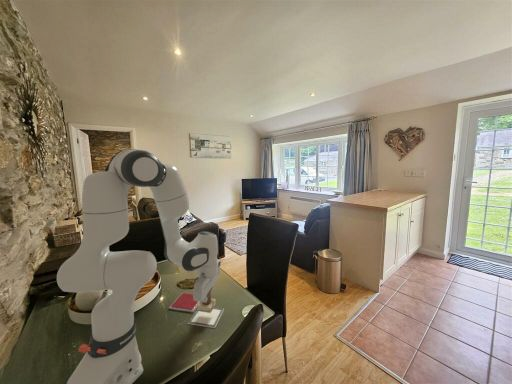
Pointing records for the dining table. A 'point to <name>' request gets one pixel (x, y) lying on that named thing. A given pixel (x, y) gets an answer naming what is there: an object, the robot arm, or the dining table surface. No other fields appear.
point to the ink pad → (185, 303)
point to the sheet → (206, 318)
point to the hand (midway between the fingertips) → (207, 298)
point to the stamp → (207, 304)
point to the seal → (187, 283)
